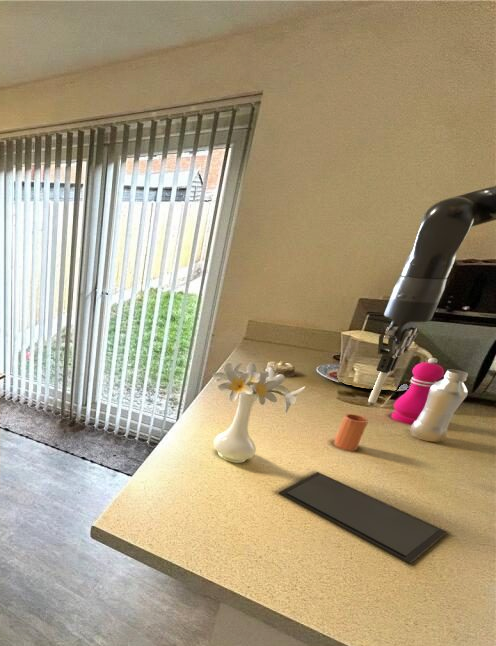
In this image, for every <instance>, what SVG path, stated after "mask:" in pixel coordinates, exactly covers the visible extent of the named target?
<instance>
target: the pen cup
mask: <svg viewBox="0 0 496 646" xmlns="http://www.w3.org/2000/svg"><path fill="white" fill-rule="evenodd" d="M368 424H369V419H368V418H366V417H365V416H362V415H358V414H354V413H345V414H344V416H343V418H342V420H341V424H340V426H339V428H338V431H337V434H336V436H335V437H334V438H335V439H334V441H333V444H334V446H335V447H338V448H339V449H341V450H345V451H350V452H351V451H353V452H354V451H357V450H358V447H359V445H360V442H361V440H362V438H363V435H364V433H365V431H366V429H367V426H368Z"/></svg>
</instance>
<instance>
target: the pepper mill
mask: <svg viewBox="0 0 496 646" xmlns="http://www.w3.org/2000/svg"><path fill="white" fill-rule="evenodd" d="M437 363H438V359H437V358H435V357H431V358H429V359H428V360H427V362H425V361H424V362H420V363H417V364H416V365H414V367H413V368H412V371H411V372H412V375H413V376H412V377H411V379H410V380H409V382H410V385H411V386H410V388H409V389H407V390H406V391H405V392H404V394H402V395H400V397H398V398H397V399H396V400H395V402H394V403H393V408H394V411H392V414H391V418H392V419H393V420H395V421H397V422H400V423H403V424H406V425H412V424H413V423H414V421H415V420H416V419H417V418H418V416H419V415H420V413H421V412H422V410H423V408H424V406H425V404H426V401H427V398H428V394H429V391H430V388H431V386H432V385H433V384H434V383H436V382H437V381H439V380H441V379H442V378H443V377H444V374H445V369H444V368H443V366H441V365H440V364H437Z"/></svg>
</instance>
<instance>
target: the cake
mask: <svg viewBox="0 0 496 646" xmlns="http://www.w3.org/2000/svg"><path fill="white" fill-rule="evenodd" d="M269 367H270V368H272V370H273V372H274V376H277V375H279V374H282V375H284V376H285V378H290V377H291V378H292V377H294V376H295V375H296V373H295V372H296V367H295V365H293V364H292V363H289V362H287V363H285V361H284V360H280V362H276V361H269V362H267V366H266V367H265V369H264V371H267V372H269Z"/></svg>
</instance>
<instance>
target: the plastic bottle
mask: <svg viewBox="0 0 496 646" xmlns="http://www.w3.org/2000/svg"><path fill="white" fill-rule="evenodd" d="M468 376H469V373H468V372H466V371H463V370H459V369H452V368H451V369H450V368H449V369H447V370H446V371H445V372H444V374H443V378H441V379H439V380H437V381H436V383H434V384H433V385H432V386H431V388H430V391H429V394H428V398H427V401H426V404H425V406H424V408H423V410H422V412H421V413H420V415H419V416H418V418H417V419H416V420H415V421H414V423H413V424H410V428H409V432H410V434H411V436H413V437H415V438H416V439H419V440H421V441H426V442H431V443H439V442H441V441H443V440H444V439H445V437H446V436H447V434H448V429H449V428H448V427H449V425H450V422H451V420H452V417H453V415H454V414H455V412H456V411H457V409H458V408H459V407H460V405H461V404H462V403H463V401H464V400H466V398H467V397H468V389H467V386H466V384H465V383H464V382H466V381H467V378H468Z"/></svg>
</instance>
